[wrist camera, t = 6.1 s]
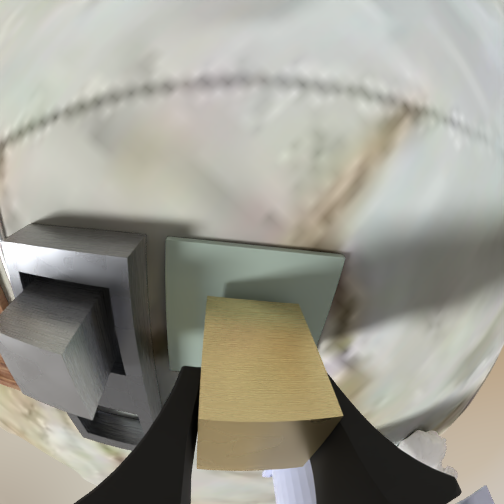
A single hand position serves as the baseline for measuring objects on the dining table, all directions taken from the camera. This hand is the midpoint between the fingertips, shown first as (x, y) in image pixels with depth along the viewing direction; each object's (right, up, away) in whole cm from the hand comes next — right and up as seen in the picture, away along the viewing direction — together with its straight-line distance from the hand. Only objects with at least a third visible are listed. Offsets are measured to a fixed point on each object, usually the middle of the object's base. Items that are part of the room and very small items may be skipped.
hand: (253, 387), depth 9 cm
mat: (0, +2, +4) cm, 4 cm away
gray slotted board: (-9, -2, +5) cm, 11 cm away
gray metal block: (-9, +3, +3) cm, 10 cm away
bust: (+22, -20, +15) cm, 33 cm away
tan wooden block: (0, +1, +3) cm, 3 cm away
